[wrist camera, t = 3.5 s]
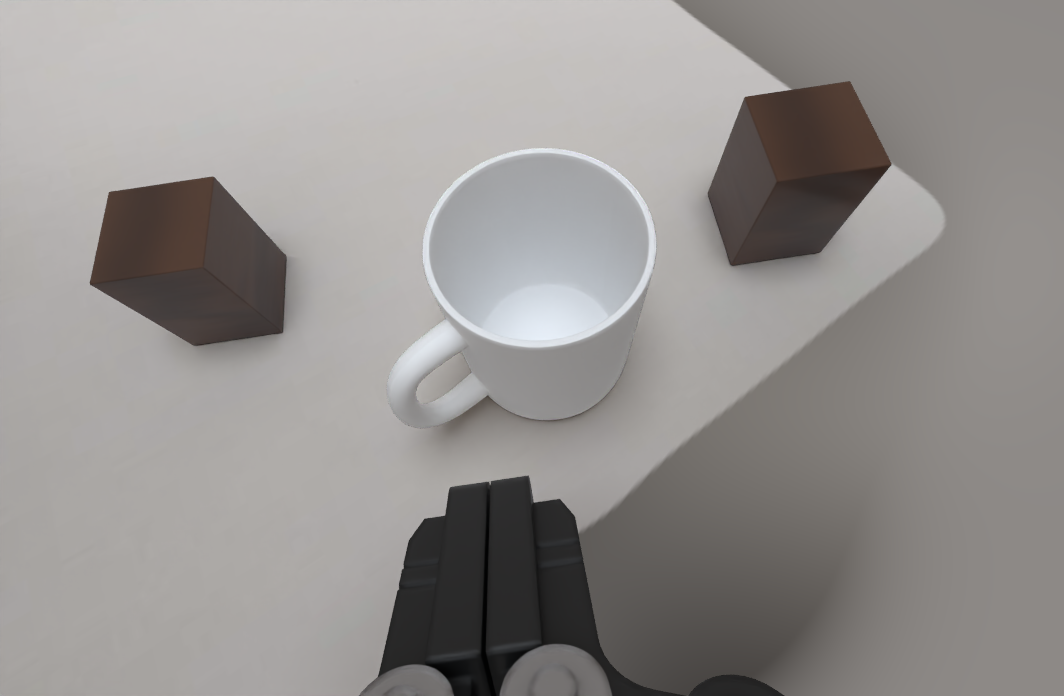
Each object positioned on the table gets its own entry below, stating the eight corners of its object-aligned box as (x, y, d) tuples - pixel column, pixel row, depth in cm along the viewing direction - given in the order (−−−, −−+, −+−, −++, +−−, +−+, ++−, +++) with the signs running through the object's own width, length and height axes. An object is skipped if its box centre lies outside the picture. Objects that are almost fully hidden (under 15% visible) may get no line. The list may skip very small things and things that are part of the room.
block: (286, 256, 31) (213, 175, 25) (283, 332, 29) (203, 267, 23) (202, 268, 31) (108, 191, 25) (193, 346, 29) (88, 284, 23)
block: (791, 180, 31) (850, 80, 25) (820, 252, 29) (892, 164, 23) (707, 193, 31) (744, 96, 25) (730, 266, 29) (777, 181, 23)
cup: (659, 353, 28) (708, 244, 18) (479, 510, 25) (428, 478, 16) (554, 252, 30) (549, 112, 21) (382, 385, 28) (289, 295, 18)
